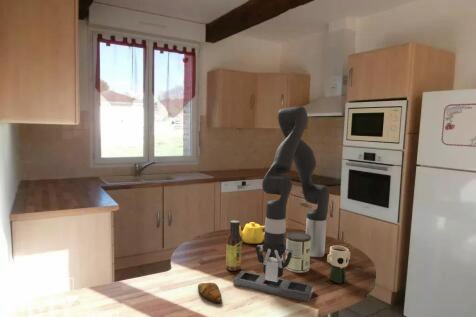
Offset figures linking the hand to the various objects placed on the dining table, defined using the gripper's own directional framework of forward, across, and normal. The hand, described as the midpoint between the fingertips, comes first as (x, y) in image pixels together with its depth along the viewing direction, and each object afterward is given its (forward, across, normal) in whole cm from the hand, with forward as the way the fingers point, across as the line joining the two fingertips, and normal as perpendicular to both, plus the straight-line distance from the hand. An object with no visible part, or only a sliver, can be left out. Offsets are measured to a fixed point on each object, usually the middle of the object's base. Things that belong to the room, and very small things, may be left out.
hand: (273, 275), depth 122 cm
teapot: (+5, +25, -46) cm, 53 cm away
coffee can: (+5, -4, -23) cm, 24 cm away
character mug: (+5, -21, -18) cm, 28 cm away
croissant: (+5, +18, +15) cm, 24 cm away
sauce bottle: (+5, +20, -10) cm, 23 cm away
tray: (+5, 0, 0) cm, 5 cm away
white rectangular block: (+1, 0, 0) cm, 1 cm away
